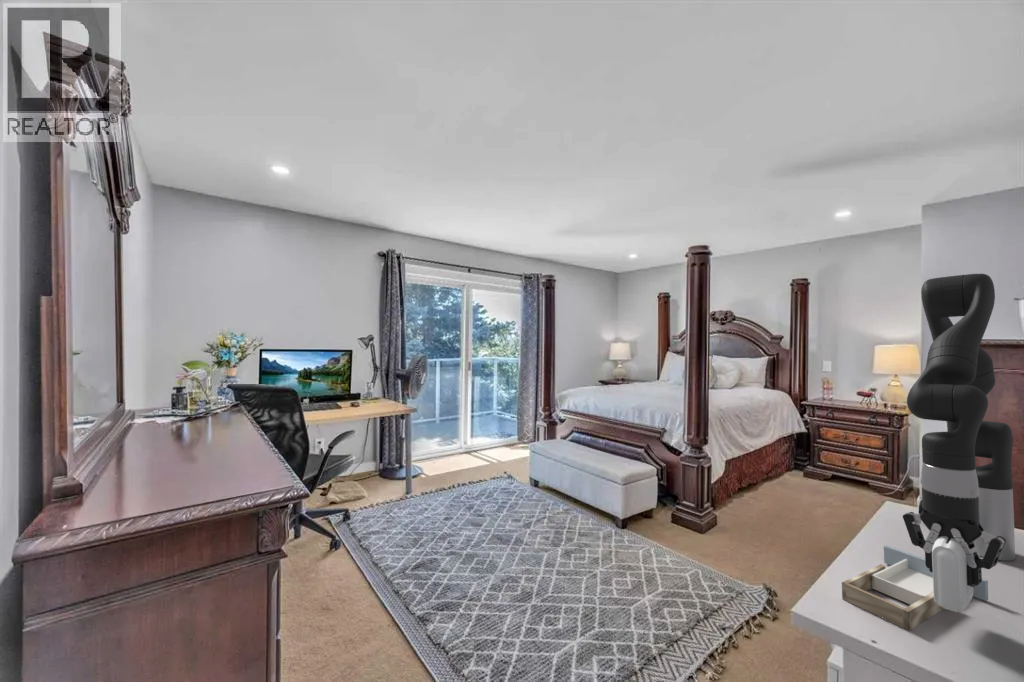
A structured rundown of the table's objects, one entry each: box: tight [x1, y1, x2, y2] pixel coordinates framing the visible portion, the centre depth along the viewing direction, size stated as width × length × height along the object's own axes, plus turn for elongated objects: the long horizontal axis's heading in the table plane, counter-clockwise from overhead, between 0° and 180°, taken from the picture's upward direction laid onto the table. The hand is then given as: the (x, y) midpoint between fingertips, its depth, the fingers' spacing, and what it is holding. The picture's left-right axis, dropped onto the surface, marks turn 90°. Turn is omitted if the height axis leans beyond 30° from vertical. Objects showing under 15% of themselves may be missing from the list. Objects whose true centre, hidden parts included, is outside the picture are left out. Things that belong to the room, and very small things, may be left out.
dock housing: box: [841, 564, 945, 631], centre depth 87 cm, size 16×11×4 cm
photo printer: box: [932, 536, 974, 613], centre depth 79 cm, size 10×4×12 cm, turn 123°
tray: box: [871, 544, 989, 606], centre depth 91 cm, size 16×17×4 cm
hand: (952, 577), depth 79 cm, fingers closed on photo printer, 4 cm apart
